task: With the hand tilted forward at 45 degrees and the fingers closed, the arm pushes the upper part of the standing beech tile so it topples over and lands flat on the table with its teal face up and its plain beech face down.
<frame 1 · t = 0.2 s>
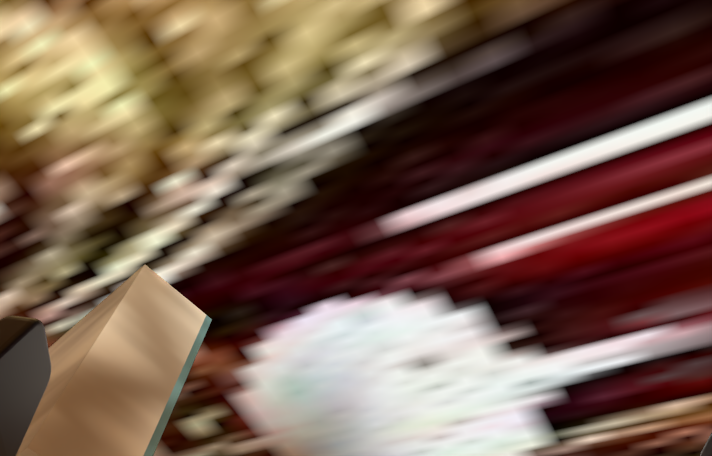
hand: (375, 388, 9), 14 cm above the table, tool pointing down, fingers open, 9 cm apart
tile: (119, 340, 28), on the table
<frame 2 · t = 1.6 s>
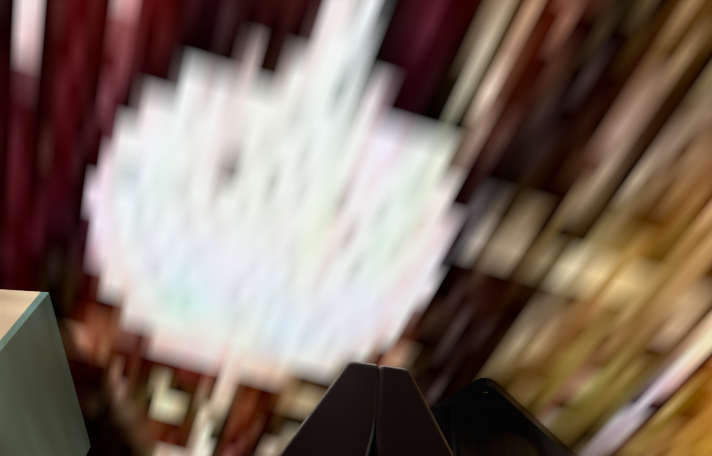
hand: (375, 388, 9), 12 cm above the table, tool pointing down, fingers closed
tile: (28, 372, 26), on the table
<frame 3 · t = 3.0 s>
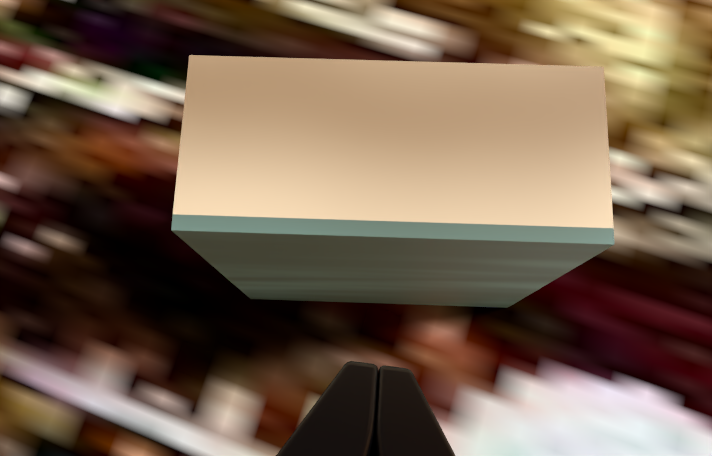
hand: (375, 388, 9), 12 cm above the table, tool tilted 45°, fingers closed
tile: (380, 248, 21), on the table
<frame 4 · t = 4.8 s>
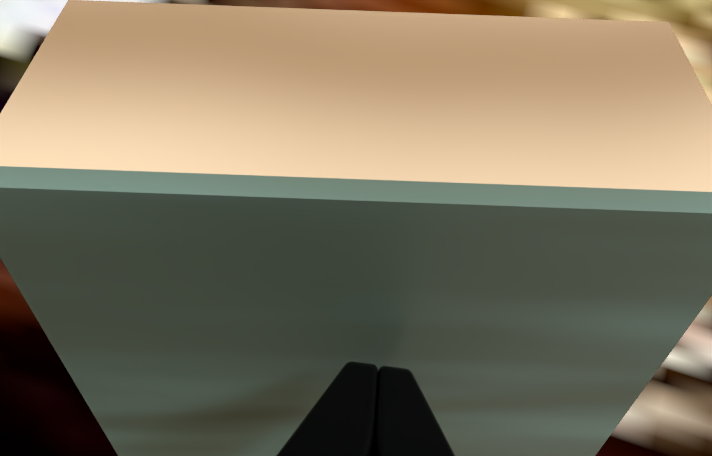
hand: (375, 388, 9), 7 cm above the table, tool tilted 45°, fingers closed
tile: (351, 429, 14), point 1 cm above the table, tilted 27°
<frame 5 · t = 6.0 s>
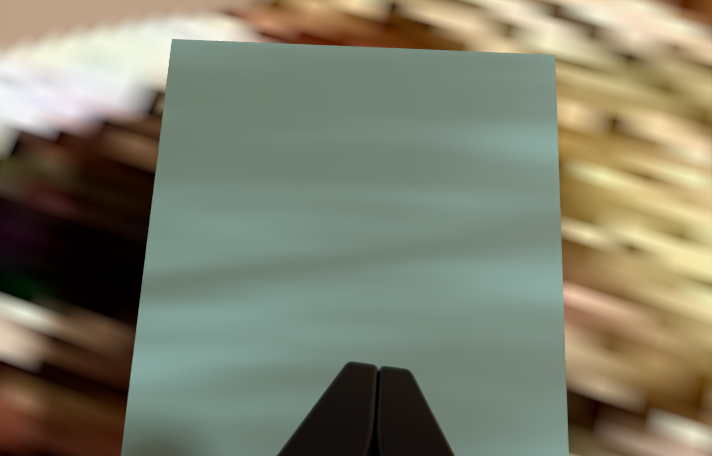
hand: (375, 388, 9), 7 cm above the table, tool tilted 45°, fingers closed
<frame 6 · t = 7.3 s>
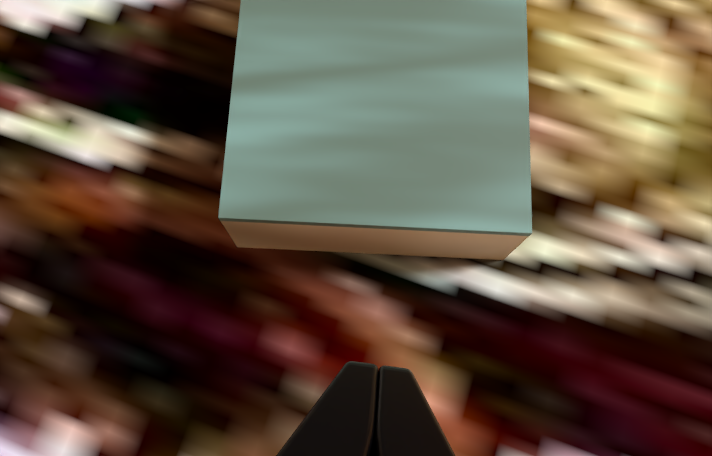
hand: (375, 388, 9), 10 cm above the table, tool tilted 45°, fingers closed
tile: (372, 242, 19), point 1 cm above the table, tilted 90°
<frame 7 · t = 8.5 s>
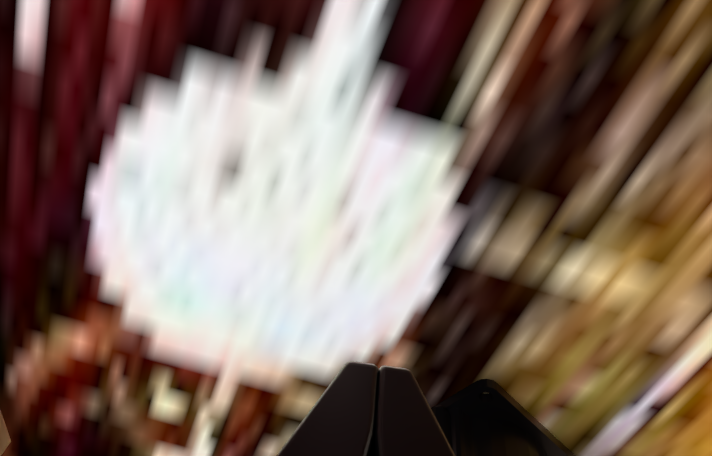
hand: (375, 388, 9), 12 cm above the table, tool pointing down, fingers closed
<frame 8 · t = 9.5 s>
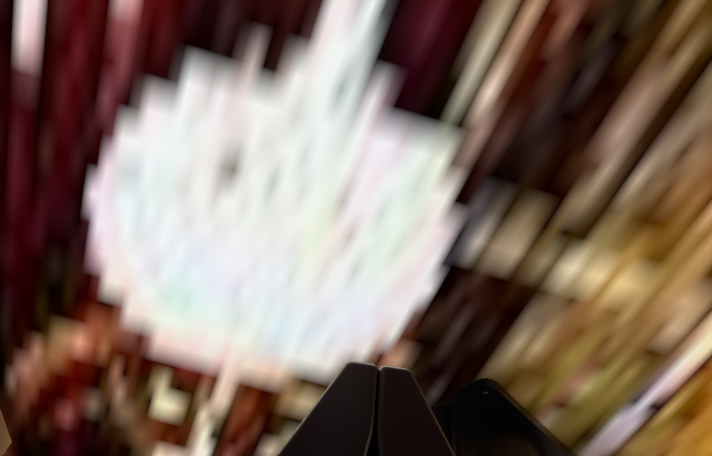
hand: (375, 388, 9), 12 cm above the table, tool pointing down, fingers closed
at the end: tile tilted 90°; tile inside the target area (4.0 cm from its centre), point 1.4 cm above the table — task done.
